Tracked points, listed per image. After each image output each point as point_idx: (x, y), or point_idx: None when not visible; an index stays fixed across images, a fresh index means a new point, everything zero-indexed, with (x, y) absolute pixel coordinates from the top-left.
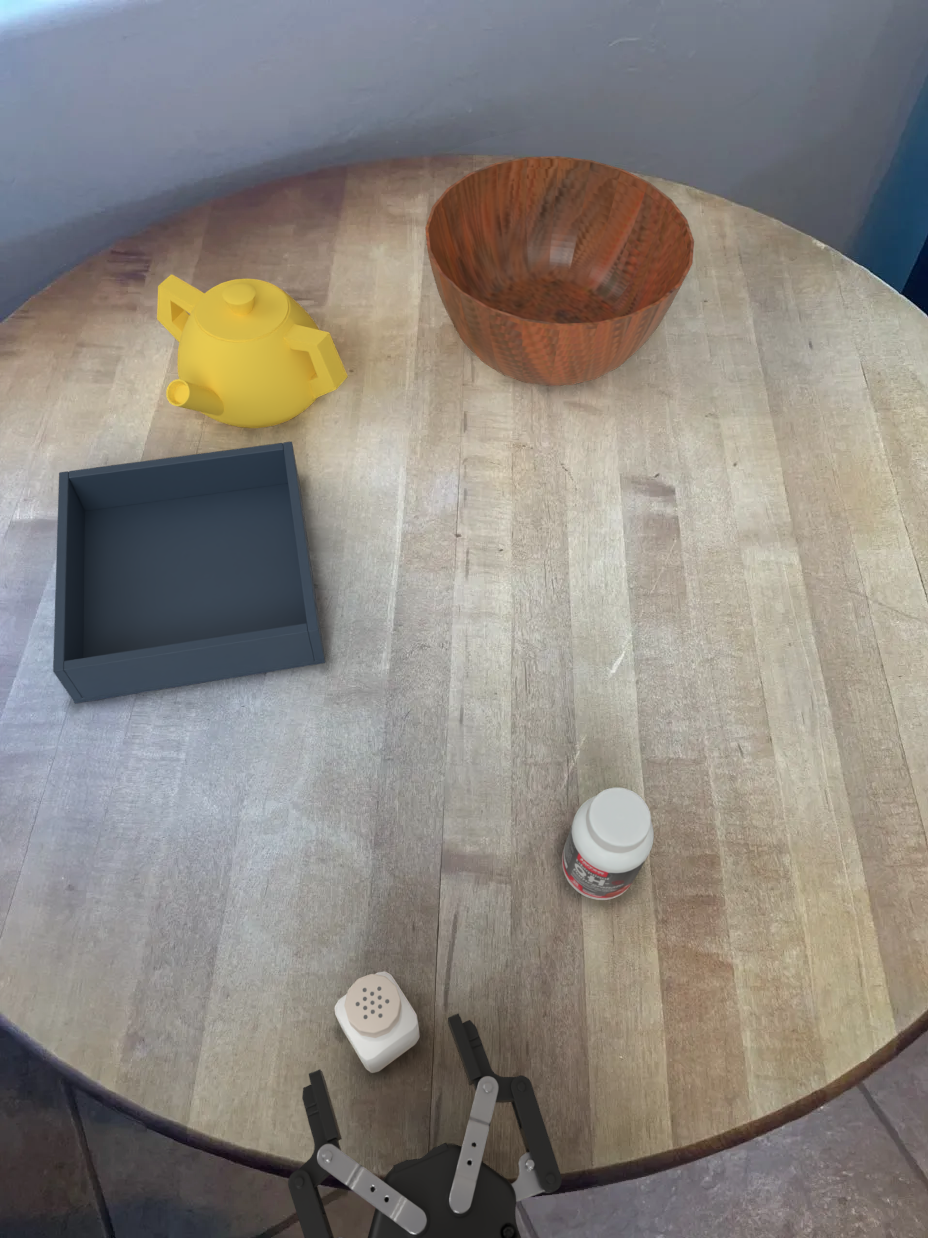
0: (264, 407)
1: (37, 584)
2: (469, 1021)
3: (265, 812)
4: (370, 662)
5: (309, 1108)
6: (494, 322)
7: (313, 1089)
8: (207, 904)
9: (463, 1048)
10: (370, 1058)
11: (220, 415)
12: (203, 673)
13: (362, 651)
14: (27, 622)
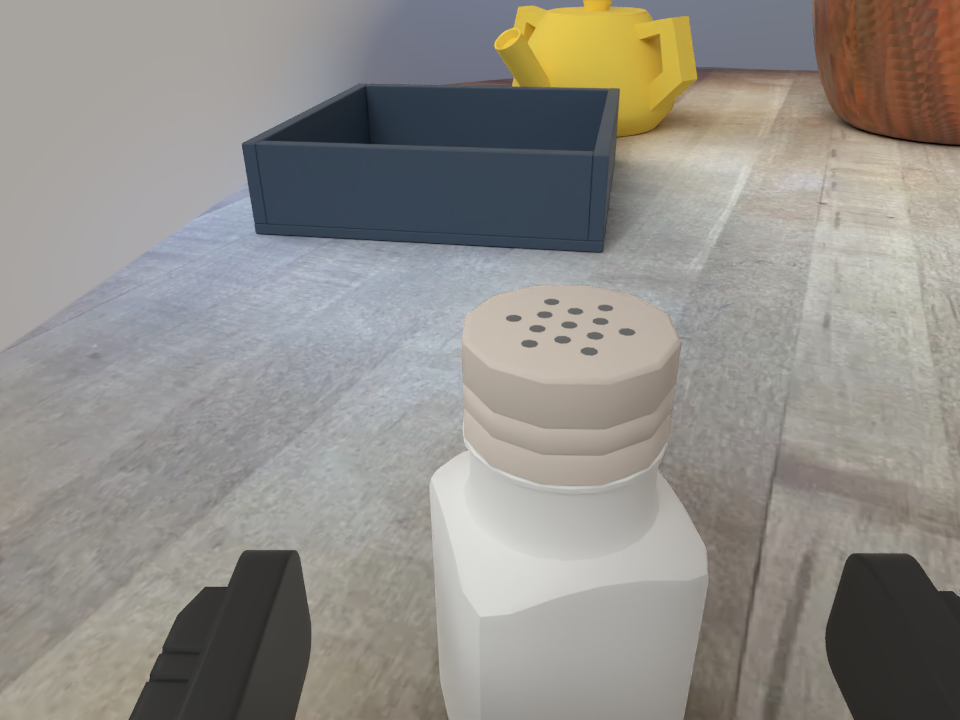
0: None
1: None
2: (951, 593)
3: (444, 348)
4: (672, 261)
5: (178, 655)
6: (899, 5)
7: (231, 582)
8: (278, 417)
9: (940, 655)
10: (497, 614)
11: None
12: (428, 218)
13: (662, 253)
14: None
